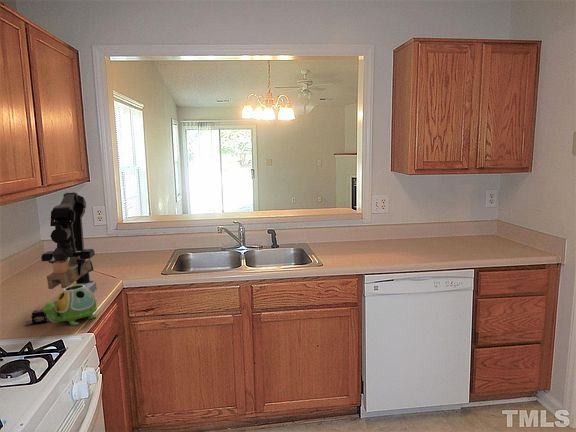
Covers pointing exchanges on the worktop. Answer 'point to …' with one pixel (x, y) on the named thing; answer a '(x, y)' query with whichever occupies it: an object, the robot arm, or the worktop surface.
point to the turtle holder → (72, 305)
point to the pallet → (68, 275)
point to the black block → (37, 321)
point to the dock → (88, 285)
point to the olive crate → (74, 259)
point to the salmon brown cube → (60, 267)
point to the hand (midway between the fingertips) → (71, 275)
